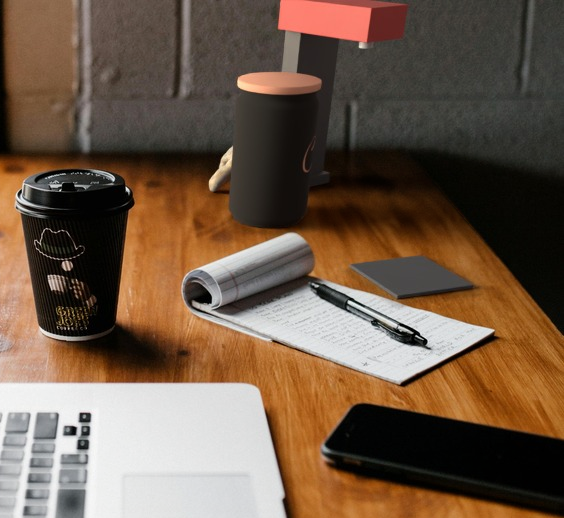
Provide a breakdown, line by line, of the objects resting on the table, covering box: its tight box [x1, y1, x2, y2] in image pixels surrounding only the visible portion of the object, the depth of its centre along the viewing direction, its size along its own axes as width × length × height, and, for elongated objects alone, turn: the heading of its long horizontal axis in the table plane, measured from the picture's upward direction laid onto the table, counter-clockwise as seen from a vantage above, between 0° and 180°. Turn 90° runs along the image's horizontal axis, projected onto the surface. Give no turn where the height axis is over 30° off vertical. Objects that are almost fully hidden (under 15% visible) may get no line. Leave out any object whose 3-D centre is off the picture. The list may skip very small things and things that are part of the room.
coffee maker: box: [277, 0, 409, 188], centre depth 122 cm, size 10×18×26 cm, turn 35°
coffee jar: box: [228, 71, 322, 229], centre depth 114 cm, size 11×11×18 cm
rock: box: [208, 145, 233, 193], centre depth 134 cm, size 20×5×7 cm, turn 166°
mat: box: [348, 254, 475, 300], centre depth 100 cm, size 10×10×1 cm
